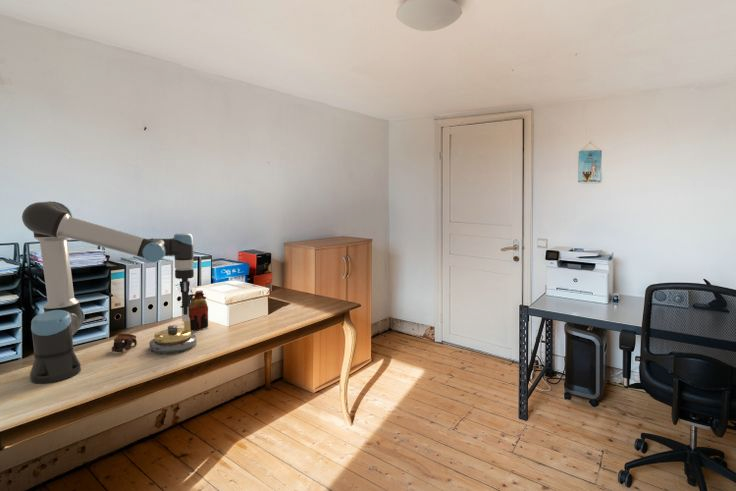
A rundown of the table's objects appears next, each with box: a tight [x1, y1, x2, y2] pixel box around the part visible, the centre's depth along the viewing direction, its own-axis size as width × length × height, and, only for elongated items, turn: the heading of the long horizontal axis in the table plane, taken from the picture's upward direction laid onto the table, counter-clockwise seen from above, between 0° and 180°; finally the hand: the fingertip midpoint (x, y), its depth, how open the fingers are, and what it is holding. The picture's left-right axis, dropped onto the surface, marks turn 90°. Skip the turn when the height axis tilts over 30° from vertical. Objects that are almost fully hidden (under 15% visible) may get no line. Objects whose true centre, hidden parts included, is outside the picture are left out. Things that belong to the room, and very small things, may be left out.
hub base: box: [149, 324, 197, 355], centre depth 182 cm, size 19×19×9 cm
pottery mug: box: [111, 332, 138, 354], centre depth 178 cm, size 12×10×8 cm
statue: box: [189, 290, 209, 332], centre depth 206 cm, size 12×8×20 cm, turn 124°
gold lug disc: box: [153, 318, 192, 345], centre depth 182 cm, size 15×15×9 cm
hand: (185, 320), depth 181 cm, fingers closed
